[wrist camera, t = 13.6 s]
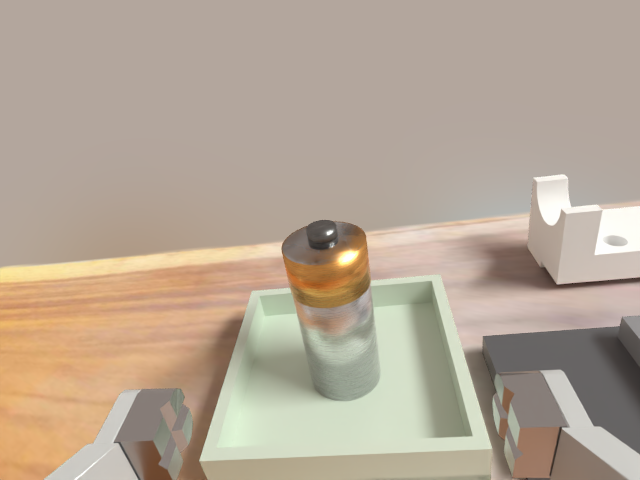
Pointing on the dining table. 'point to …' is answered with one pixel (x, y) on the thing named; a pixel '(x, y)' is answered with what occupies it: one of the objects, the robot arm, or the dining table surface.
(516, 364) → the block
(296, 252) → the battery cell
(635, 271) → the bracket
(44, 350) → the dining table surface
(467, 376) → the tray
